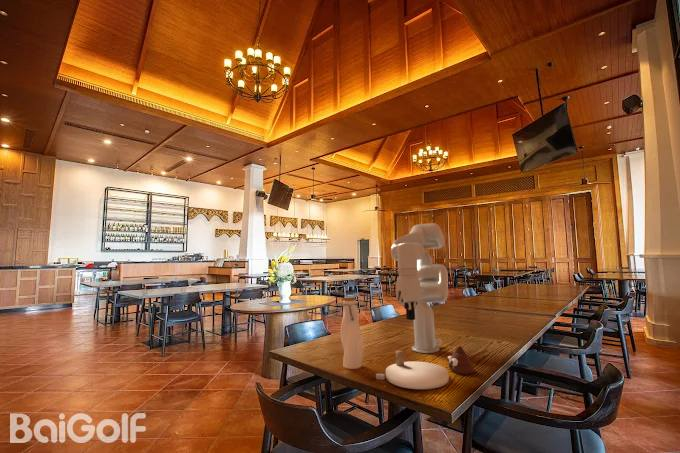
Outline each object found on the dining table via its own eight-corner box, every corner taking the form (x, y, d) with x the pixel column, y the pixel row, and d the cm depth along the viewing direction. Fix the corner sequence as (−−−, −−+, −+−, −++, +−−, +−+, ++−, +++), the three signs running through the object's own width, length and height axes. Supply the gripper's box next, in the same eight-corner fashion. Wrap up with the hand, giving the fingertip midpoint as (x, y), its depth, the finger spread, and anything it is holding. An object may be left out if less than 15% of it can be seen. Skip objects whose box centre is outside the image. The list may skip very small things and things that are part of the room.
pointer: (384, 378, 116) (384, 373, 116) (384, 379, 115) (384, 375, 115) (376, 378, 116) (376, 373, 117) (376, 379, 115) (376, 375, 115)
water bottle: (368, 368, 127) (364, 297, 130) (346, 371, 124) (343, 299, 127) (359, 361, 137) (356, 295, 139) (339, 364, 134) (336, 296, 137)
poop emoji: (478, 374, 116) (476, 348, 117) (457, 376, 115) (455, 350, 116) (464, 365, 126) (462, 341, 127) (444, 367, 125) (442, 343, 126)
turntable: (462, 378, 110) (460, 358, 111) (417, 395, 99) (415, 371, 99) (416, 363, 129) (415, 345, 130) (373, 375, 117) (372, 355, 118)
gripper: (414, 272, 136) (417, 316, 134) (387, 274, 128) (390, 320, 126) (427, 272, 129) (431, 318, 127) (400, 274, 121) (403, 323, 119)
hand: (410, 319), depth 127 cm, fingers closed
